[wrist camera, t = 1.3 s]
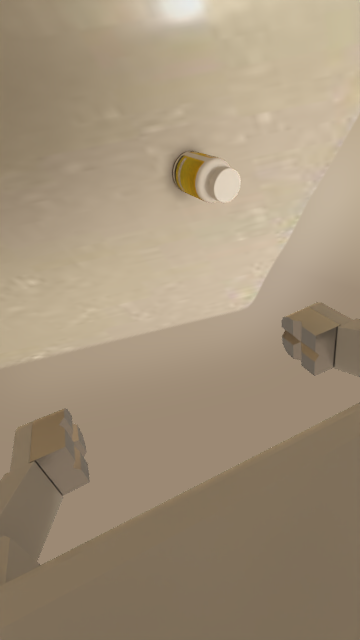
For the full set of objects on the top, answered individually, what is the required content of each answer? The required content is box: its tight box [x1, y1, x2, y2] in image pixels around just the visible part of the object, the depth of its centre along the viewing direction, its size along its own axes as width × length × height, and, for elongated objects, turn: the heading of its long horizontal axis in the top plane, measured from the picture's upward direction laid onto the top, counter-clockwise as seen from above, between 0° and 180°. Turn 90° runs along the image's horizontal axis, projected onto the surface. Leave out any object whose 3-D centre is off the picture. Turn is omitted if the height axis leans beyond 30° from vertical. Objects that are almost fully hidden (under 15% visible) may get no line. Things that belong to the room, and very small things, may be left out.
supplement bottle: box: [173, 151, 241, 203], centre depth 41 cm, size 5×5×10 cm
